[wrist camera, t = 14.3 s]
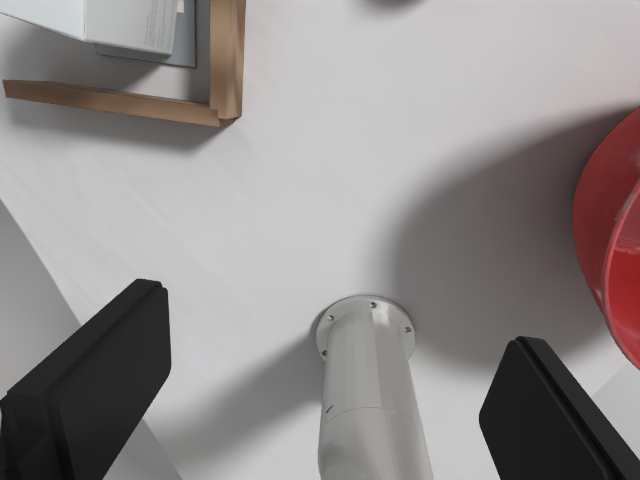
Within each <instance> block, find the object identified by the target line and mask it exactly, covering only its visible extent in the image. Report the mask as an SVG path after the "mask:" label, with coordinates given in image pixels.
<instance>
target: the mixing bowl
mask: <svg viewBox="0 0 640 480" xmlns="http://www.w3.org/2000/svg"><path fill="white" fill-rule="evenodd" d="M572 226H573V233H574V241H575V247H576V252H577V255H578V259H579V262H580V265H581V268H582V271H583V273H584V276H585V279H586V281H587V284H588V286H589V288H590V290H591V292H592V294H593V296H594V298H595V300H596V303H597V305H598V306H599V308H600V310H601V311H602V313H603V315H604V317H605V320H606V324H607V327H608V329H609V331H610V334H611V336H612V337H613V339H614V341H615V343H616V344H617V346H618V347H619V349H620V350H621V351H622V353H623V354H624V355H625V357H626V358H627V359H628V360H629V361H630V362H631V363H632V364H633V365H634V366H635V367H636V368H638V369H639V370H640V107H638V108H637V109H636V110H635V111H633V112H632V113H631V114H629V115H628V116H627V117H626V118H625V119H624V120H623V121H621V122H620V123H619V124H618V125H617V126H616V127H615V128H614V129H613V130H612V131H611V132H610V133H609V134H608V135H607V136H606V137H605V138H604V140H603V141H602V142H601V143H600V144H599V146H598V147H597V148H596V149H595V151H594V152H593V154H592V155H591V157H590V159H589V160H588V162H587V164H586V166H585V167H584V169H583V171H582V173H581V176H580V179H579V182H578V184H577V187H576V190H575V194H574V200H573V207H572Z"/></svg>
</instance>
